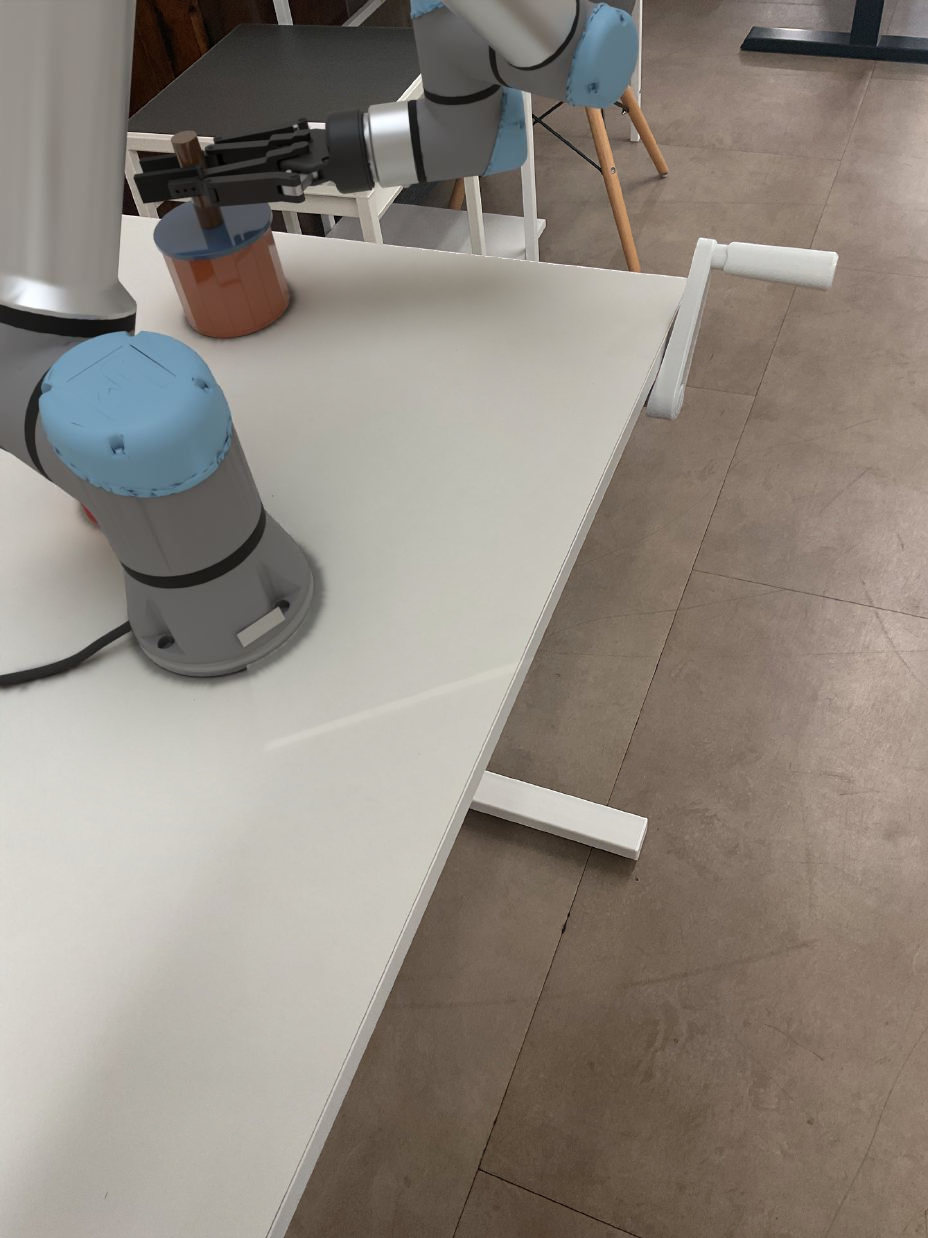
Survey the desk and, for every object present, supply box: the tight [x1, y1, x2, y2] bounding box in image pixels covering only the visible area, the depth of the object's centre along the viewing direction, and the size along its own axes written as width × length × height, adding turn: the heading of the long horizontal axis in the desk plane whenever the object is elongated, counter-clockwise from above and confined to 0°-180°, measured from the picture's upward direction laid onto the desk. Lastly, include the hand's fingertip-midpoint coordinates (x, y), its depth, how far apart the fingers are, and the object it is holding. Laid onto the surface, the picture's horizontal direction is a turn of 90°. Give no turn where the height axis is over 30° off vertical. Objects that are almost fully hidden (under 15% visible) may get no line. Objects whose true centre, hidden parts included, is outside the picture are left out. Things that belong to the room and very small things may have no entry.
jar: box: [162, 226, 291, 339], centre depth 110 cm, size 12×12×10 cm
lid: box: [152, 130, 274, 261], centre depth 102 cm, size 13×13×10 cm
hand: (142, 180), depth 102 cm, fingers closed on lid, 3 cm apart
